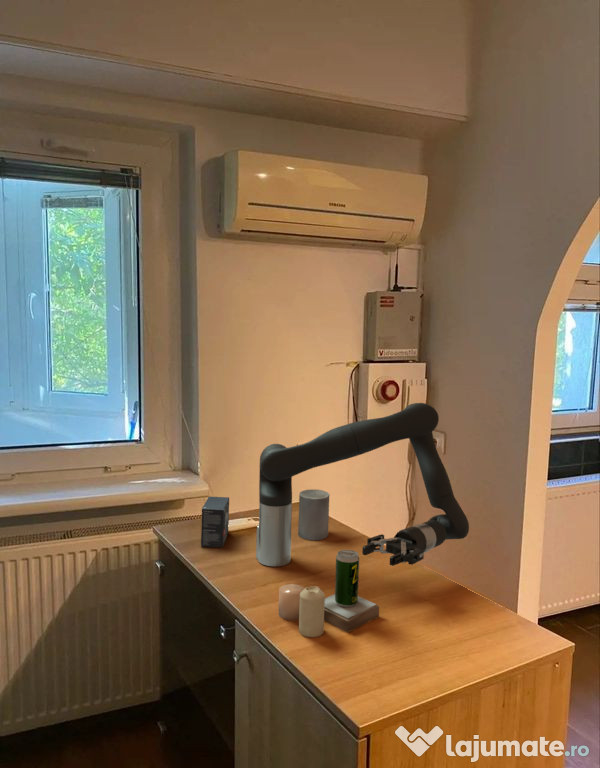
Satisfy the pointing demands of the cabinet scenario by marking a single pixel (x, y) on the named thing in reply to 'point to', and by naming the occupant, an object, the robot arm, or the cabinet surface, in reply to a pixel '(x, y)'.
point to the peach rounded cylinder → (289, 601)
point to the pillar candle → (313, 514)
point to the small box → (215, 522)
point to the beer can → (347, 578)
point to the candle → (311, 612)
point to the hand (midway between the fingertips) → (376, 556)
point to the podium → (349, 613)
